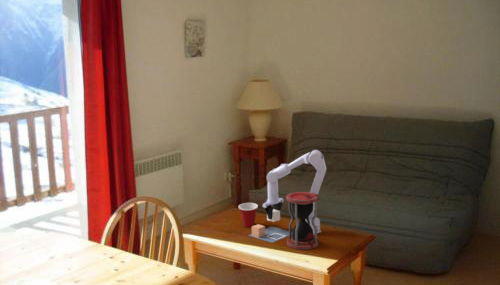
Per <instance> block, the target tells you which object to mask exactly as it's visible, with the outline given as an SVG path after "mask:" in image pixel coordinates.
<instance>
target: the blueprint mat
mask: <svg viewBox="0 0 500 285" xmlns="http://www.w3.org/2000/svg"><path fill="white" fill-rule="evenodd" d="M247 236H249V237H251V238H255V239H258V240H262V241H265V242H269V243H274V242H277V241H279V240H282V239H285V238H288V237H289V230H286V229H282V228H280V227H279V228H278V227H275V226H269V227H267V228H266V227H265V236H262V237H259V238H258V237H254V236H252V233H250V234H248V235H247ZM291 236H292V231H291Z"/></svg>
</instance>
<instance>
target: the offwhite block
mask: <svg viewBox="0 0 500 285" xmlns="http://www.w3.org/2000/svg"><path fill="white" fill-rule="evenodd" d="M280 220H281V210H280V211H279V210H275V209H273V212H272V219H268V216H267V215H266V221H269V222H272V223H275V222H278V221H280Z"/></svg>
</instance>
